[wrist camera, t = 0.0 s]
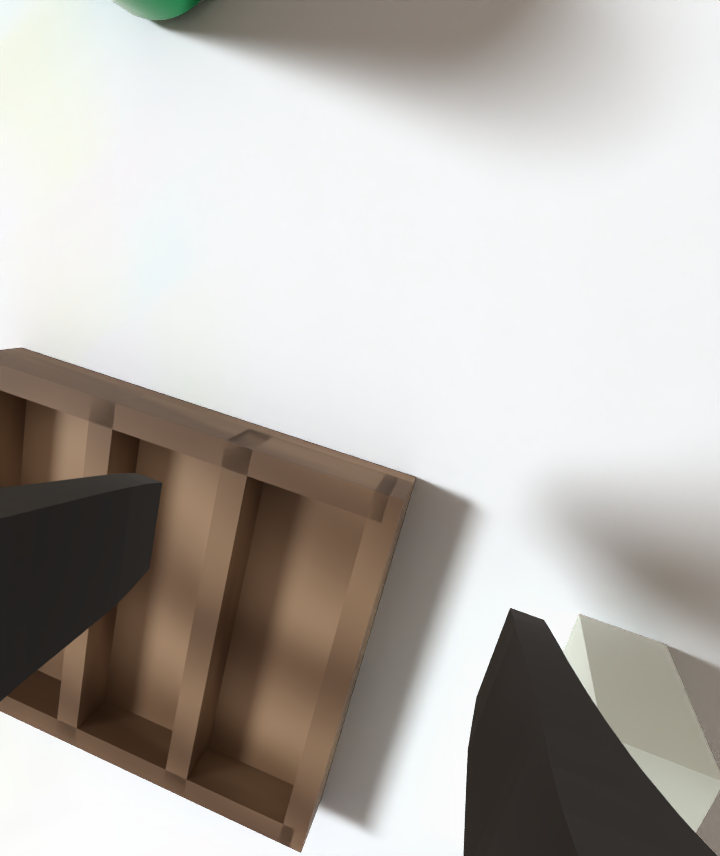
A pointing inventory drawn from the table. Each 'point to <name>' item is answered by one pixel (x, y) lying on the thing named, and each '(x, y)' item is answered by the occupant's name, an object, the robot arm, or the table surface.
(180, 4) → the soda can
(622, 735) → the clay strip
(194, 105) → the table surface
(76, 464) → the strip rack
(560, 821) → the robot arm
